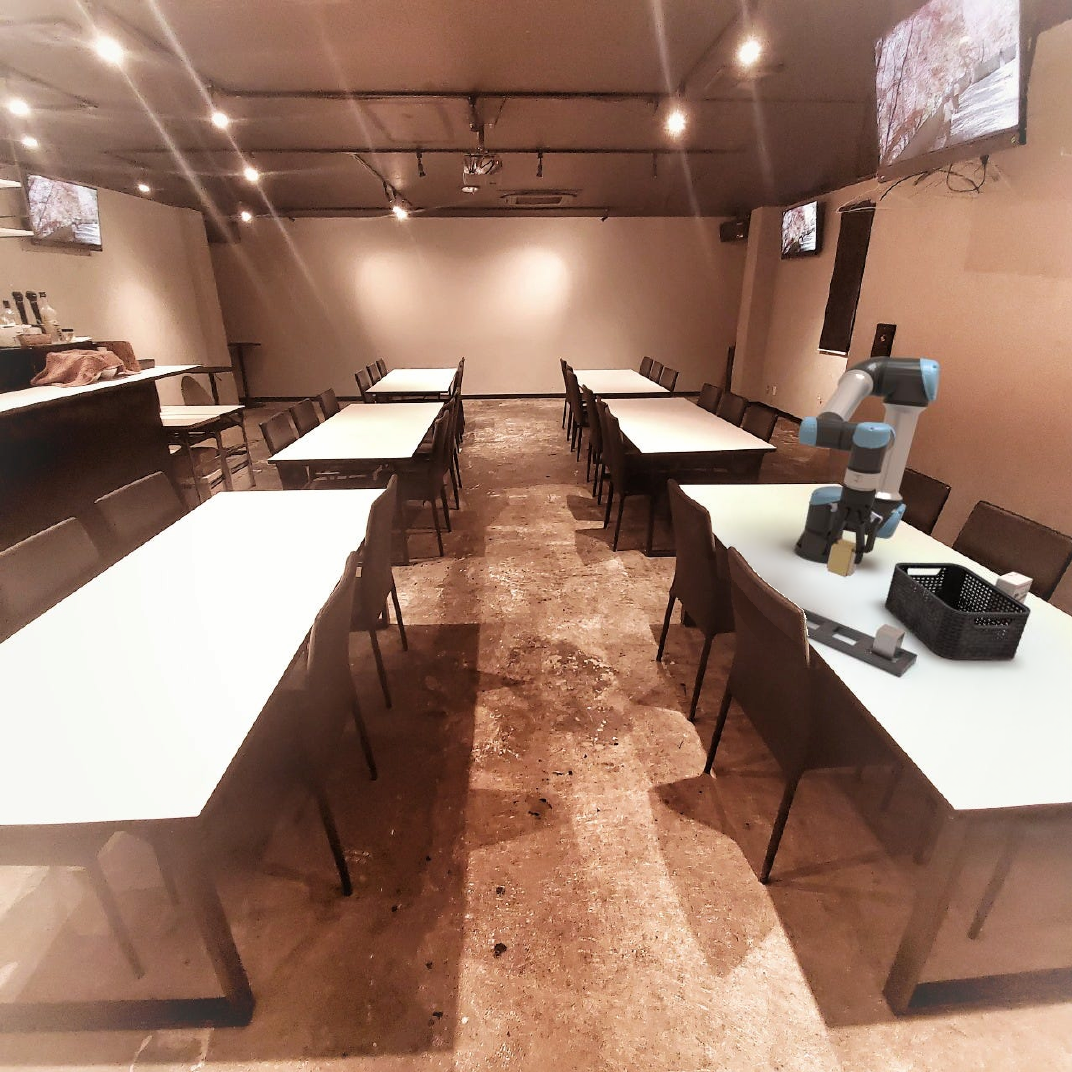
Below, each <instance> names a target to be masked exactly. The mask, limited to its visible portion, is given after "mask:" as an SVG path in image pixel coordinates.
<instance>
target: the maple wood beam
mask: <svg viewBox="0 0 1072 1072" xmlns="http://www.w3.org/2000/svg"><path fill="white" fill-rule="evenodd" d="M855 550H856V542H853V541H850V540H847V539H844V538H843V539H841V540H839V541H837V542H835V543H834V544H833V549H832V553H831V558H830V562H829V567H828V568H827V572H829V573H832V574H835V575H838V576H840V577H844V578H846V577H847V576H848V575H847V573H848V569H849V565H850V560H851V556H852V552H854V551H855Z"/></svg>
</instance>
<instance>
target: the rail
mask: <svg viewBox="0 0 1072 1072" xmlns="http://www.w3.org/2000/svg"><path fill="white" fill-rule="evenodd" d="M801 608H802V609H803V610H804V613H805V615H806V618H807V620H806V621H809V622H811V623H812V624H815V625H818V627H817V628H812V627H811V626H808V625H806V626H807V629H808V635H809V637H808V638H810V639H812V640H814V641H816V642H819V643H822V644H824V645H826V646H829V647H830V648H833V649H835V650H837V651H839V652H842V653H845V654H847V655H849V656H851V657H853V658H855V659H858V660H860V661H863V662H865V663H868V665H869V664H870V665H872V666H874V667H876V668H878V669H880V670H884V671H885V672H888V673H890V674H893V675H895V676H897V677H900V678H901V677H902V676H903V675H904V674H905V673H906V672H907V671H908V670H909V669H910V668H911V667H912V666H913V665H914V664H915V663H916V662H917V658H918V654H917V653H914V652H912V651H910V650H906V649H904V648H902V647H901V649H900V652H899V656H898V659H897V660H896V661H895V662H894V663H893V662H891V661H889V660H886V659H884V658H882V657H879V656H877V655H875V654H872V653H871V651H872V647H873V644H874V640H875V636H872V635H871V634H867V633H865V632H862V631H860V630H858V629H855V628H852V627H850V626H847V625H845V624H842V623H840V622H838V621H835V620H832V619H830V618H827V617H825V616H822V615H820V614H817V613H815V612H813V611H810V610H808V609H805V608H803V607H801ZM836 634H839V635H843V636H845V637H847V638H849V639H852V640H855V641H856V642H855V643H854V644H851V643H848V642H846V641H843V640H841V639H838V638H836V637H834V635H836Z"/></svg>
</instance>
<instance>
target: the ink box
mask: <svg viewBox="0 0 1072 1072" xmlns="http://www.w3.org/2000/svg"><path fill="white" fill-rule="evenodd" d="M1033 580H1034V579H1033V578H1031V577H1028V576H1025V575H1023V574H1021V573H1018V572H1015V571H1011V572H1009V573H1006V574H1004V575H1001V576H998V578H997V579H996V582H995V584H994V585H995V586H996V587H998V588H999V589H1001V590H1002V591H1004V592H1006V593H1007V594H1009V595H1010V596H1012V597H1013V598H1015V599H1016V600H1018V601H1020V602H1021V603H1023V604H1024V605H1025V601H1026V599H1027V596H1028V593H1029V591H1030V588H1031V585H1032V582H1033ZM994 594H995V593H994ZM997 596H998V595H997ZM992 597H993V596H992ZM998 597H999V596H998ZM993 598H994V597H993ZM1001 599H1002V598H1001ZM996 600H997V599H996ZM991 601H992V600H991ZM1005 601H1006V600H1005ZM1000 602H1001V601H1000ZM995 603H996V602H995ZM990 604H991V603H990ZM1009 604H1010V603H1009ZM998 605H999V604H998ZM1004 605H1005V604H1004ZM999 606H1000V605H999ZM993 607H995V606H993ZM1007 607H1008V606H1007ZM1013 607H1014V605H1013ZM989 608H990V607H989ZM1002 608H1003V607H1002ZM1008 608H1009V607H1008ZM997 609H998V608H997ZM1003 609H1004V608H1003ZM1016 609H1018V608H1016ZM992 610H993V609H992ZM998 610H999V609H998ZM1011 610H1013V609H1011ZM988 611H989V610H988ZM993 611H994V610H993ZM1006 611H1008V610H1006ZM1001 612H1002V611H1001ZM1015 612H1016V611H1015ZM1010 613H1011V612H1010ZM1016 613H1017V612H1016ZM999 619H1000V618H999ZM994 620H995V619H994ZM1007 620H1008V619H1007ZM1002 621H1003V620H1002ZM1008 621H1009V620H1008ZM1003 622H1004V621H1003Z"/></svg>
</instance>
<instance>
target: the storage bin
mask: <svg viewBox="0 0 1072 1072" xmlns="http://www.w3.org/2000/svg"><path fill="white" fill-rule="evenodd" d="M909 569H910V570H911V569H913V570H914V569H915V570H919V569H920V570H922V569H923V570H927V569H928V570H932V569H933V570H939V571H937V573H936V574H909V571H908V570H909ZM994 593H995V594H994ZM997 595H998V596H999V597H998V596H997ZM992 596H993V597H994V598H993V597H992ZM1001 598H1002V599H1001ZM996 599H997V600H996ZM991 600H992V601H991ZM1005 600H1006V601H1005ZM1000 601H1001V602H1000ZM995 602H996V603H995ZM990 603H991V604H990ZM1009 603H1010V604H1009ZM998 604H999V605H1000V606H999V605H998ZM1004 604H1005V605H1004ZM1013 605H1014V607H1013ZM993 606H995V607H993ZM1007 606H1008V607H1009V608H1008V607H1007ZM884 607H885V608H886V609H887V610H888V611H889V612H890V613H891V614H892V615H893V616H894V617H895V618H896V619H898V620H899V621H900V622H901V623H902V624H903V625H904V626H905V627H906V628H907V629H909V630H910V632H912V634H914V635H915V636H916V637H917V638H918V639H919V640H921V642H923V643H924V644H925V645H926V646H927V647H928V648H929V649H930V650H931V651H932V652H934V653H935V654H937V655H938V656H941V657H945V658H948V659H953V660H1012V659H1014V658H1015V656H1016V653H1017V650H1018V647H1019V645H1020V641H1021V640H1022V638H1023V637H1022V635H1023V633H1024V632H1025V627H1026V625H1027V624H1028V623H1027V622H1028V619H1029V617H1030V614H1031V608H1030V607H1028V606H1027V605H1025V603H1024V604H1023V603H1021V602H1020V601H1018V600H1016V599H1015V598H1013V597H1012V596H1010V595H1009V594H1007V593H1006V592H1004V591H1002V590H1001V589H999V588H998V587H996V586H995V584H993V583H992V582H990V581H988V580H987V579H985V578H984V577H982V576H981V575H979V574H977V573H976V572H974V571H973V570H971V569H969V568H968V567H967V566H964V565H961V564H958V563H953V562H897V563H895V566H894V568H893V574H892V578H891V581H890V584H889V588H888V592H887V597H886V600H885V603H884ZM989 607H990V608H989ZM1002 607H1003V608H1004V609H1003V608H1002ZM997 608H998V609H999V610H998V609H997ZM1016 608H1018V609H1016ZM992 609H993V610H994V611H993V610H992ZM1011 609H1013V610H1011ZM988 610H989V611H988ZM1006 610H1008V611H1006ZM1001 611H1002V612H1001ZM1015 611H1016V612H1017V613H1016V612H1015ZM1010 612H1011V613H1010ZM999 618H1000V619H999ZM994 619H995V620H994ZM1007 619H1008V620H1007ZM1002 620H1003V621H1004V622H1003V621H1002Z"/></svg>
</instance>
